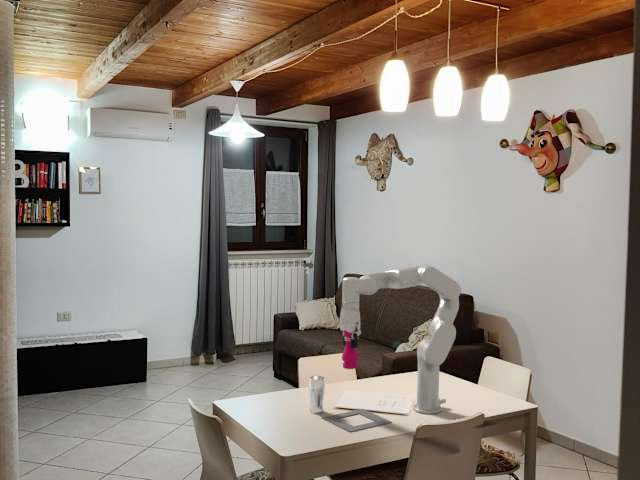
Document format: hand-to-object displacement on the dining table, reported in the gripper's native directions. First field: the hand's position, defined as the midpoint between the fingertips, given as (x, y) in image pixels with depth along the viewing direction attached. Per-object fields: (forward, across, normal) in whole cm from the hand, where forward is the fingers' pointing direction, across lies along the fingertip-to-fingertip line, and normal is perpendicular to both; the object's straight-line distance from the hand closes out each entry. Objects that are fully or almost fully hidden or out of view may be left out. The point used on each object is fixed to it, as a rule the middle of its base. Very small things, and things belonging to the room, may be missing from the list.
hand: (350, 346), depth 282 cm
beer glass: (+29, -7, -13) cm, 33 cm away
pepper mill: (+10, 0, 0) cm, 10 cm away
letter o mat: (+29, +11, -4) cm, 32 cm away
